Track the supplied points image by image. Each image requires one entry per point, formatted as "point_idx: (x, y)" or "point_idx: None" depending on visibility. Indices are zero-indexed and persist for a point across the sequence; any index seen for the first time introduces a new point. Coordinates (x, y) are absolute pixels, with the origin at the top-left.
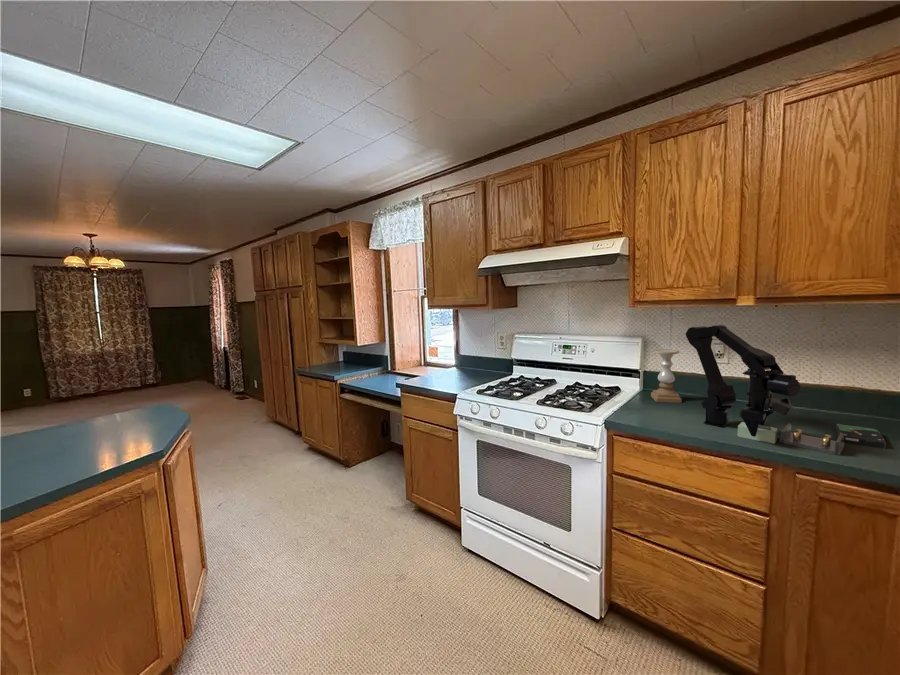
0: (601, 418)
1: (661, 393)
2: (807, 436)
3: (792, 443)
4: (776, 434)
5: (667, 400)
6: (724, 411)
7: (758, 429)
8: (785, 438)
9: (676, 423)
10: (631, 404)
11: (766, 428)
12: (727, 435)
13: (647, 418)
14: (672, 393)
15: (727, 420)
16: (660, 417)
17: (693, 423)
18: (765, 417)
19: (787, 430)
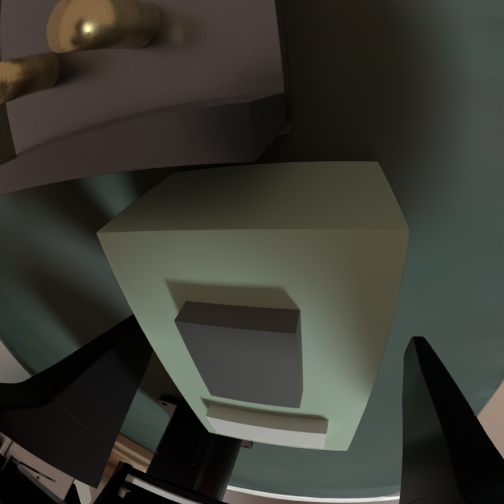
0: (390, 497)
1: (142, 468)
2: (12, 51)
3: (278, 5)
4: (239, 196)
5: (144, 452)
6: (193, 485)
7: (352, 385)
8: (177, 102)
9: (324, 470)
10: (236, 485)
11: (300, 355)
12: (373, 403)
13: (328, 486)
14: (120, 458)
15: (189, 428)
16: (293, 479)
17: (281, 455)
18: (65, 397)
19: (47, 144)
